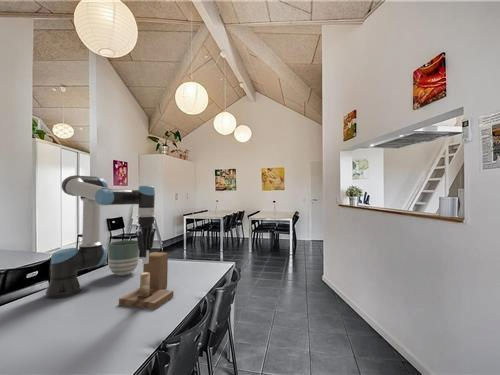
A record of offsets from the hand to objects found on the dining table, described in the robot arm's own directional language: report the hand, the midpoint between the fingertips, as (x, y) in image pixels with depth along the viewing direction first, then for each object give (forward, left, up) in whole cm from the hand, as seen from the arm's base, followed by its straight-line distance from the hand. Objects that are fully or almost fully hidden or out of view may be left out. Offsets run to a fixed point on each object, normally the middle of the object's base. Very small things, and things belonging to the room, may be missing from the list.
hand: (145, 263), depth 127 cm
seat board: (0, +2, -19) cm, 19 cm away
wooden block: (-6, +17, -19) cm, 26 cm away
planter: (-44, +35, -19) cm, 60 cm away
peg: (0, 0, -19) cm, 19 cm away
